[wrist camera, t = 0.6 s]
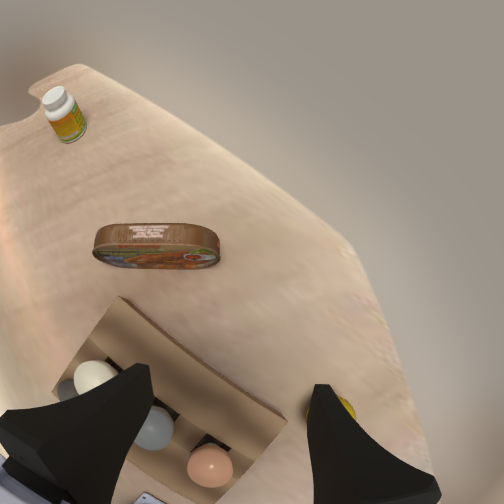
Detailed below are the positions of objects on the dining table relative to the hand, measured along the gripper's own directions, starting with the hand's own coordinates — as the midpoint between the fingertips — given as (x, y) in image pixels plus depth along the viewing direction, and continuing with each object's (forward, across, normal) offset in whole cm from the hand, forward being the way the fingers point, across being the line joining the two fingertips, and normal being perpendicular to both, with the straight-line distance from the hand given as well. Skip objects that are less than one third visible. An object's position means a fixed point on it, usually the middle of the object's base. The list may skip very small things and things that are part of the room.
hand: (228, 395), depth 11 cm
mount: (+15, +10, +18) cm, 25 cm away
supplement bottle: (+31, +33, -17) cm, 49 cm away
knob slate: (+12, +9, +16) cm, 22 cm away
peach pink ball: (+11, +3, +20) cm, 23 cm away
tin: (+24, +12, +1) cm, 28 cm away
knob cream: (+13, +15, +12) cm, 23 cm away
